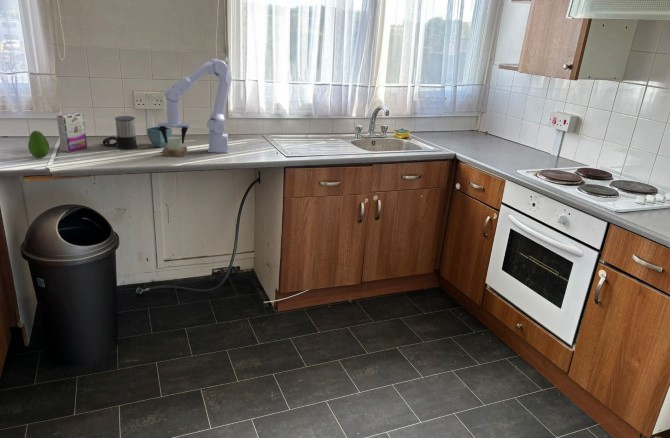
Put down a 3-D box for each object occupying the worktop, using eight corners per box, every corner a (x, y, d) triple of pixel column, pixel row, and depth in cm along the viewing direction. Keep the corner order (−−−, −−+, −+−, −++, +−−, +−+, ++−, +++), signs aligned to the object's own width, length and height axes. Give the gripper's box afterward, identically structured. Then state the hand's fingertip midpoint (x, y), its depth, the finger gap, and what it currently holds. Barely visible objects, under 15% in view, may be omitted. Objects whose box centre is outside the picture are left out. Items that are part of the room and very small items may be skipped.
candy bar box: (79, 146, 243) (75, 112, 237) (87, 147, 242) (83, 113, 236) (60, 151, 233) (55, 115, 227) (69, 152, 232) (64, 117, 226)
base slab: (187, 151, 249) (186, 146, 248) (184, 156, 240) (184, 151, 239) (165, 150, 247) (165, 145, 246) (162, 155, 238) (162, 150, 237)
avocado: (28, 160, 217) (23, 132, 212) (32, 155, 224) (28, 128, 219) (48, 160, 219) (44, 132, 215) (52, 155, 226) (49, 128, 222)
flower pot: (147, 146, 253) (146, 128, 250) (160, 143, 260) (159, 125, 257) (160, 149, 249) (159, 131, 246) (173, 146, 257) (172, 128, 253)
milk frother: (137, 150, 245) (135, 119, 239) (102, 150, 239) (98, 119, 234) (137, 143, 257) (134, 113, 251) (103, 143, 251) (100, 113, 246)
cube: (180, 147, 245) (180, 137, 243) (179, 150, 240) (178, 139, 239) (170, 147, 244) (169, 136, 242) (168, 149, 240) (167, 139, 238)
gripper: (155, 114, 232) (157, 144, 237) (188, 116, 234) (189, 145, 239) (158, 112, 238) (159, 140, 243) (190, 113, 240) (190, 141, 245)
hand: (174, 142), depth 241 cm, fingers open, 7 cm apart
